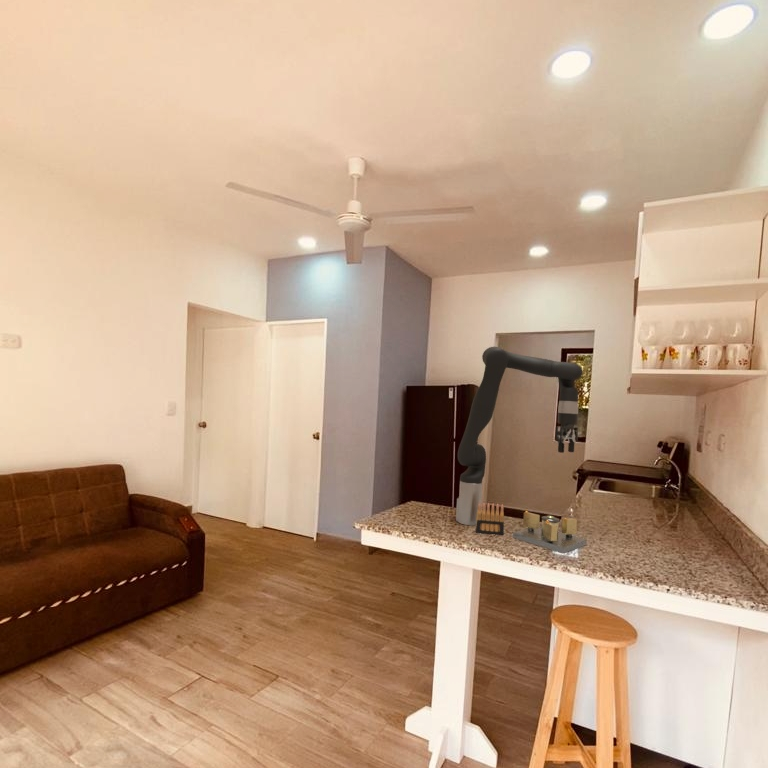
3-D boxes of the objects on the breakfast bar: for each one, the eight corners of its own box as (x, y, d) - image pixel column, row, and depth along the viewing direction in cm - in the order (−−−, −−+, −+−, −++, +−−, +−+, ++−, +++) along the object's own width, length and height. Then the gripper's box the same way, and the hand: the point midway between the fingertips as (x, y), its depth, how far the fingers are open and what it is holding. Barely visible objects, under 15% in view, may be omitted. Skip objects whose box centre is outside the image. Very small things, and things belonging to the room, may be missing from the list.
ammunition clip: (475, 533, 170) (477, 502, 171) (475, 531, 172) (476, 501, 173) (503, 535, 170) (505, 504, 170) (502, 534, 171) (504, 503, 172)
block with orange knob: (535, 532, 169) (536, 514, 170) (523, 528, 174) (523, 510, 174) (538, 531, 171) (539, 513, 171) (526, 528, 175) (526, 510, 175)
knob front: (550, 544, 155) (551, 524, 156) (542, 539, 161) (543, 519, 161) (556, 544, 156) (557, 524, 156) (548, 539, 161) (549, 519, 162)
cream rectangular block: (576, 536, 167) (577, 517, 168) (566, 537, 165) (567, 518, 165) (571, 534, 169) (572, 516, 170) (561, 536, 167) (562, 517, 167)
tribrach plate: (513, 537, 167) (514, 513, 168) (537, 530, 179) (538, 508, 180) (563, 553, 152) (564, 526, 153) (586, 545, 164) (587, 520, 165)
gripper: (568, 412, 171) (566, 454, 170) (585, 413, 180) (583, 453, 180) (550, 411, 177) (548, 451, 176) (567, 412, 186) (565, 450, 185)
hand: (566, 452), depth 178 cm, fingers open, 8 cm apart
